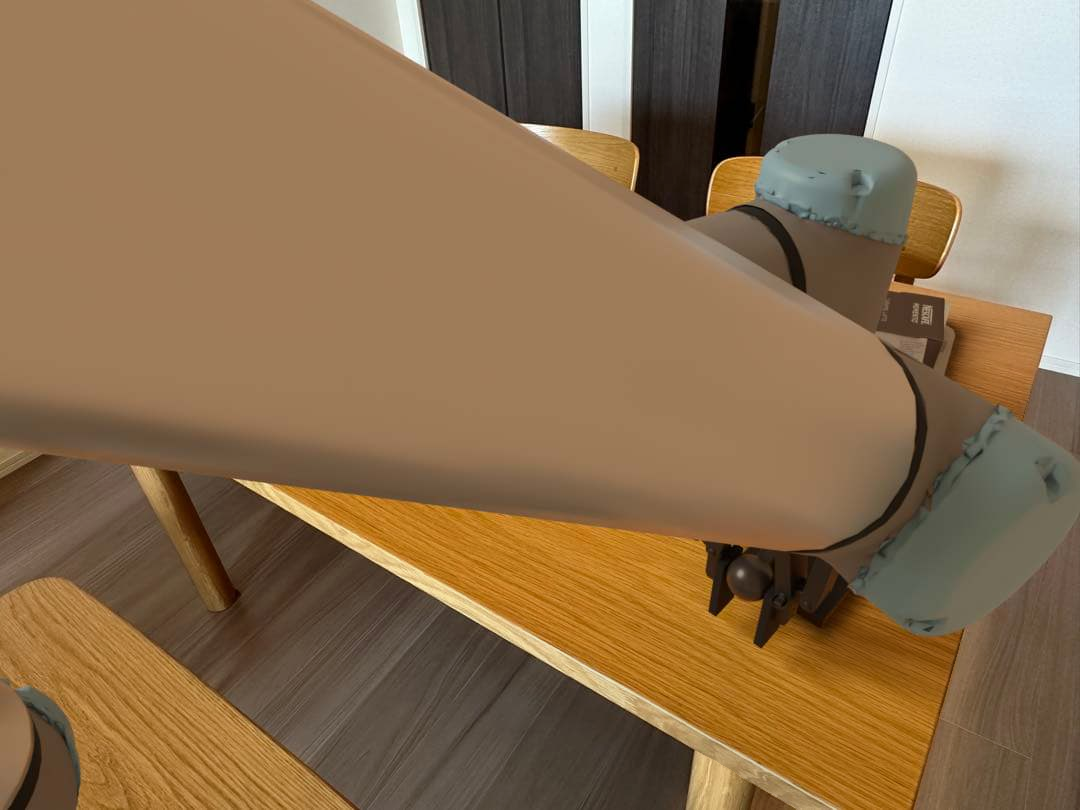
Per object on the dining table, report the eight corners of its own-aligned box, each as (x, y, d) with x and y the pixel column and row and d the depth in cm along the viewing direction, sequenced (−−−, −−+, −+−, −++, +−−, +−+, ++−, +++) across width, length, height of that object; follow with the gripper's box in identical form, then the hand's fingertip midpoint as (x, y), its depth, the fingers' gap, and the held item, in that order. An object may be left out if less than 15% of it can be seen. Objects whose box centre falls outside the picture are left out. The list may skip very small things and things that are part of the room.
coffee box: (900, 467, 75) (945, 342, 65) (837, 453, 77) (872, 330, 67) (904, 417, 81) (946, 296, 71) (846, 405, 84) (879, 286, 74)
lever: (757, 618, 54) (757, 598, 51) (718, 591, 56) (715, 571, 53) (859, 482, 59) (863, 457, 56) (819, 462, 61) (822, 438, 58)
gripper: (953, 426, 40) (861, 652, 55) (712, 327, 50) (688, 541, 65) (896, 495, 37) (813, 718, 51) (647, 373, 46) (636, 589, 61)
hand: (743, 619), depth 58 cm, fingers closed on lever, 4 cm apart
